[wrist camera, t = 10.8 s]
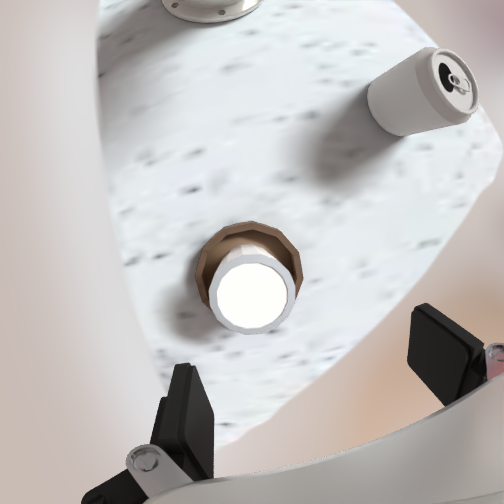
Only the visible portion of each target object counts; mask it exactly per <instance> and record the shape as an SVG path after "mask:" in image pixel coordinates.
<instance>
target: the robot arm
mask: <svg viewBox="0 0 504 504" xmlns="http://www.w3.org/2000/svg"><path fill="white" fill-rule="evenodd" d="M161 1H162V3H163V5H164V7H165V8H166V9H167V10H168V11H169V12H170V13H172V14H173V15H175V16H176V17H179V18H181V19H184V20H188V21H192V22H202V23H211V22H221V21H227V20H231V19H235V18H238V17H241V16H243V15H246V14H248V13H249V12H251V11H253V10H254V9H255V8H257V7H258V6H259V5H260V4H261V3H262V2H263V0H161ZM483 346H484V343H483V342H482V341H480V340H479V339H477V338H476V337H474V336H473V335H472V334H471V333H469V332H468V331H467V330H465V329H464V328H462V327H461V326H460V325H458V324H457V323H455V322H454V321H453V320H451V319H450V318H448V317H447V316H445V315H444V314H443V313H441V312H440V311H438V310H437V309H435V308H434V307H432V306H431V305H429V304H428V303H424V304H421V305H419V306H416V307H415V308H414V311H413V312H412V313H411V326H410V338H409V348H408V356H407V362H408V365H409V366H410V367H411V369H412V370H413V371H414V372H415V373H416V374H417V375H418V376H419V378H420V379H421V380H422V381H423V382H424V383H425V384H426V385H427V387H428V388H429V389H430V390H431V391H432V392H433V393H434V395H435V396H436V397H437V398H438V399H439V400H440V401H441V402H442V404H443V405H444V406H445V407H444V408H442V409H440V410H439V411H437V412H435V413H433V414H431V415H429V416H427V417H425V418H423V419H421V420H419V421H417V422H415V423H413V424H411V425H409V426H406V427H404V428H402V429H400V430H398V431H395V432H393V433H391V434H388V435H386V436H384V437H381V438H378V439H376V440H373V441H371V442H368V443H365V444H363V445H360V446H357V447H354V448H351V449H348V450H345V451H342V452H339V453H336V454H332V455H329V456H326V457H323V458H319V459H315V460H311V461H308V462H303V463H300V464H295V465H290V466H286V467H281V468H276V469H271V470H266V471H261V472H254V473H249V474H242V475H235V476H228V477H221V478H214V475H213V474H214V471H213V469H214V465H213V464H214V463H213V462H214V413H213V410H212V407H211V405H210V402H209V400H208V397H207V395H206V392H205V390H204V387H203V384H202V382H201V379H200V377H199V374H198V371H197V369H196V366H195V365H194V366H191V364H190V363H182V364H176V365H175V367H174V371H173V375H172V379H171V383H170V387H169V392H168V396H167V397H162V398H161V400H160V403H159V407H158V411H157V415H156V419H155V423H154V427H153V431H152V436H151V440H150V444H145V445H140V446H138V447H136V448H134V449H133V450H131V451H130V453H129V454H128V455H127V458H126V466H127V469H126V470H124V471H122V472H121V473H119V474H118V475H116V476H114V477H112V478H111V479H109V480H108V481H106V482H104V483H102V484H101V485H99V486H97V487H95V488H93V489H92V490H90V491H89V492H87V493H86V494H85V495H84V497H83V498H82V501H81V504H504V343H493V344H491V345H489V346H488V347H487V348H486V350H485V349H483Z"/></svg>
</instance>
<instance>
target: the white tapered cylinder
mask: <svg viewBox="0 0 504 504" xmlns="http://www.w3.org/2000/svg"><path fill="white" fill-rule="evenodd" d="M209 299H210V307H211V309H212V311H213V313H214V314H215V316H216V318H217V320H218V321H219V322H221V323H222V324H223V325H224V326H226V327H227V328H228V329H229V330H232V331H235V332H238V333H241V334H245V335H251V334H263V333H265V332H267V331H270V330H272V329H274V328H277V327H278V326H279V325H280V324H281V323H282V322H283V321H284V320H285V319H286V318H287V317H288V316H289V314H290V312H291V310H292V307H293V305H294V303H295V284H294V282H293V279H292V277H291V274H290V272H289V271H288V270H287V269H286V268H285V267H284V266H283V265H282V264H281V263H280V262H279V261H278V260H276V259H275V258H274V257H273V256H272V255H270V254H269V253H268V252H267V251H265V250H264V249H263V248H261V247H258V246H255V245H252V244H251V245H240V246H238V247H235V248H233V249H231V250H230V251H229V252H228V253H227V254H226V255H225V256H224V257H223V259H222V261H221V263H220V265H219V267H218V269H217V271H216V273H215V275H214V277H213V280H212V283H211V286H210V288H209Z"/></svg>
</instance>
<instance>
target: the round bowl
mask: <svg viewBox="0 0 504 504" xmlns="http://www.w3.org/2000/svg"><path fill="white" fill-rule="evenodd" d="M251 244H252V245H255V246H258V247H261V248H263V249H264V250H265V251H267V252H268V253H269V254H270V255H272V256H273V257H274V258H275V259H276V260H278V261H279V262H280V263H281V264H282V265H283V266H284V267H285V268H286V269H287V270H288V271H289V272H290V274H291V277H292V279H293V282H294V284H295V300H296V297H297V294H298V292H299V289H300V287H301V284H302V281H303V273H302V267H301V261H300V255H299V252H298V251H297V249H296V248H295V247H294V246H293V245H292V244H291V243H290V241H289V240H288V239H287V238H286V237H285V236H284V235H283V233H282V232H281V231H280V230H278V229H276V228H273V227H270V226H267V225H265V224H261V223H257V222H254V221H248V222H241V223H236V224H233V225H230V226H226V227H223V228H222V229H221V230H220V231H219V232H218V233H217V234H215V235H214V236H213V237H212V238H211V239H210V240H209V241H208V242H207V243H206V244H205V245H204V246H203V249H202V252H201V256H200V259H199V263H198V266H197V270H196V273H195V278H196V282H197V286H198V289H199V293H200V296H201V300H202V302H203V303H204V304H205V305H206V306H207V307H208V308H209V309H210V310H211V311H212V309H211V307H210V299H209V288H210V286H211V283H212V280H213V277H214V275H215V273H216V271H217V269H218V267H219V265H220V263H221V261H222V259H223V257H224V256H225V255H226V254H227V253H228V252H229V251H230V250H231V249H233V248H235V247H238V246H240V245H251ZM212 312H213V311H212Z"/></svg>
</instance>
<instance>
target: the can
mask: <svg viewBox="0 0 504 504" xmlns="http://www.w3.org/2000/svg"><path fill="white" fill-rule="evenodd" d="M367 100H368V106H369V109H370V111H371V113H372V116H373V117H374V119H375V120H376V121H377V123H378V124H379V125H380V126H381V127H382V128H383V129H385V130H386V131H387V132H389V133H391V134H393V135H396V136H407V135H412V134H416V133H420V132H425V131H429V130H433V129H438V128H443V127H448V126H452V125H458V124H461V123H464V122H467V120H468V119H469V118H470V117H471V114H473V113H474V112H475V111H476V110H477V109H478V105H479V90H478V86H477V82H476V80H475V78H474V75H473V73H472V71H471V70H470V68H469V67H468V65H467V64H466V63H465V62H464V61H463V60H462V59H461V58H460V57H459V56H458V55H457V54H455V53H454V52H452V51H450V50H448V49H445V48H438V49H437V48H434V47H425V48H423V49H421V50H420V51H418V52H417V53H415V54H413V55H412V56H410V57H408V58H407V59H405V60H404V61H402V62H401V63H399V64H397V65H396V66H394V67H393V68H391V69H390V70H388V71H387V72H385V73H384V74H382V75H381V76H379V77H378V78H376V79H375V80H373V81H372V82H371V84H370V86H369V88H368V94H367Z"/></svg>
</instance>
